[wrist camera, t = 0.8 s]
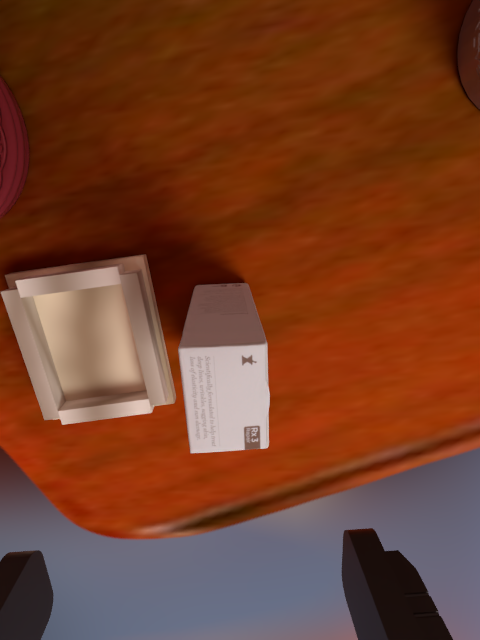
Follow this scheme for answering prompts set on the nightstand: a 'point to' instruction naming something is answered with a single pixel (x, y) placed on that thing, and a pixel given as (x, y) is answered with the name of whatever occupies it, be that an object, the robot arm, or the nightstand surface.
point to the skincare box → (224, 370)
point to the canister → (11, 149)
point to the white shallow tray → (91, 339)
